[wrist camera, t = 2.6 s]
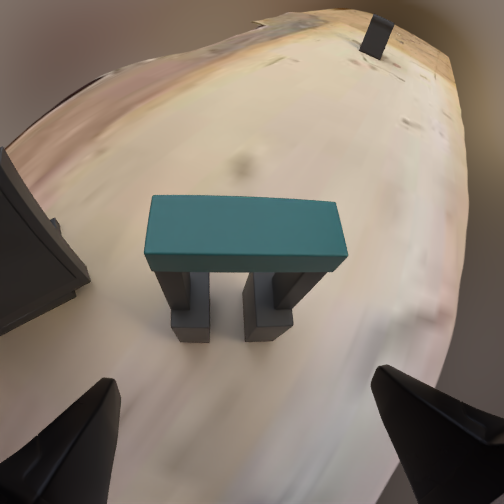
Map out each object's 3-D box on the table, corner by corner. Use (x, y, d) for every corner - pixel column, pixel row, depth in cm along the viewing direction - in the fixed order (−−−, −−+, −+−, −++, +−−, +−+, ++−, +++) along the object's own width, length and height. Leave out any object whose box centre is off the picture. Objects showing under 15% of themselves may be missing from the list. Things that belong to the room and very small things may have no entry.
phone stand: (379, 60, 55) (395, 25, 44) (358, 50, 55) (372, 15, 45) (380, 53, 59) (394, 21, 49) (361, 44, 60) (374, 12, 49)
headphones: (273, 341, 21) (353, 277, 9) (180, 342, 20) (140, 277, 8) (269, 291, 23) (331, 185, 11) (180, 291, 21) (155, 178, 10)
